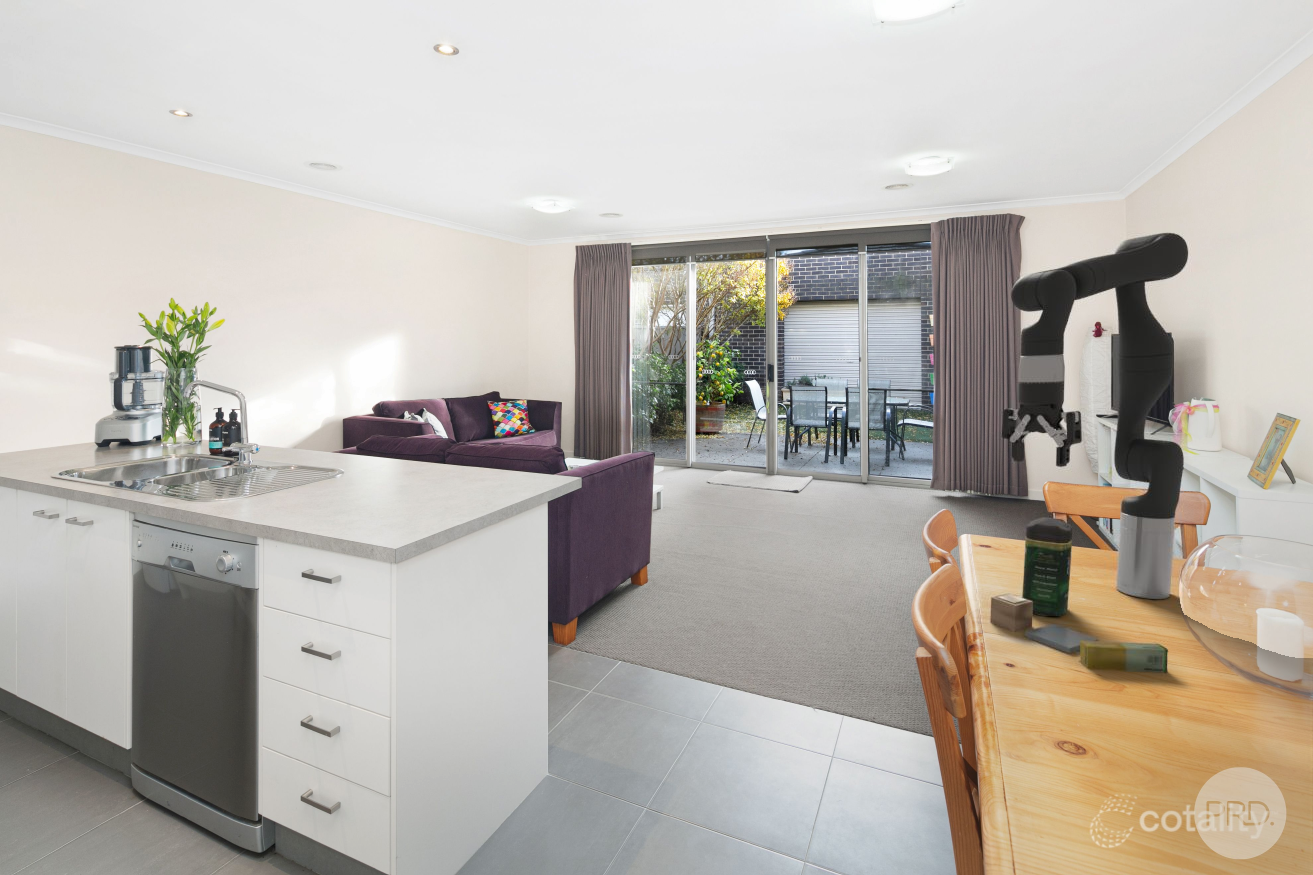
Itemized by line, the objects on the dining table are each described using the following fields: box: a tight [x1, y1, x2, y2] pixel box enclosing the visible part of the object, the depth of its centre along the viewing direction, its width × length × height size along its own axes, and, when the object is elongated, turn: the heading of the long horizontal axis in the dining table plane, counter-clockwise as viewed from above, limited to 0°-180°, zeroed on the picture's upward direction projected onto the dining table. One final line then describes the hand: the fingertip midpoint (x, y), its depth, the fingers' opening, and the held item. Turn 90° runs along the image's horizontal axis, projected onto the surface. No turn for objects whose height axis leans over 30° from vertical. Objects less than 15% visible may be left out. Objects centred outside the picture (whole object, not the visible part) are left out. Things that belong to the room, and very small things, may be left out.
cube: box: [989, 592, 1034, 632], centre depth 122 cm, size 5×5×5 cm
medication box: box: [1078, 640, 1169, 674], centre depth 104 cm, size 12×3×4 cm, turn 81°
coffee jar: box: [1021, 516, 1073, 617], centre depth 129 cm, size 10×8×19 cm
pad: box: [1024, 623, 1099, 655], centre depth 115 cm, size 8×8×1 cm
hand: (1039, 463), depth 124 cm, fingers open, 8 cm apart
